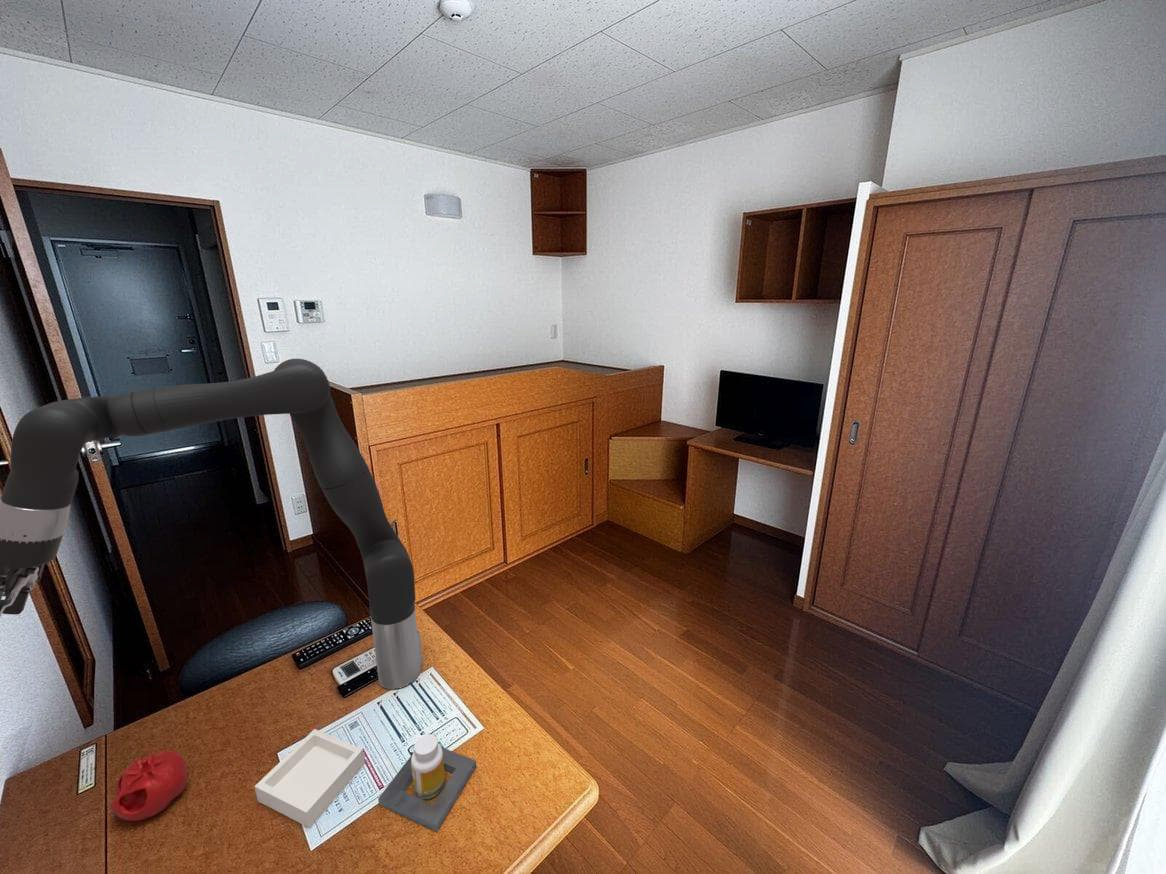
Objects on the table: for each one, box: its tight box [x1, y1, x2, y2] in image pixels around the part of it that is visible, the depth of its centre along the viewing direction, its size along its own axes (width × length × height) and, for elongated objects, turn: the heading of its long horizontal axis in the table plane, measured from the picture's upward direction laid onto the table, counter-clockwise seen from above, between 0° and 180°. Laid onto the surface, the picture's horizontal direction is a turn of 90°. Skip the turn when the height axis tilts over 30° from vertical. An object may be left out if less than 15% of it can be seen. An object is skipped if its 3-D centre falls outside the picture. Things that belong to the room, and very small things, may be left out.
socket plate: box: [377, 746, 477, 832], centre depth 84 cm, size 12×12×2 cm
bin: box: [254, 728, 366, 829], centre depth 84 cm, size 12×12×4 cm
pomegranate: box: [109, 747, 188, 822], centre depth 80 cm, size 10×10×9 cm
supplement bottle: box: [411, 733, 446, 800], centre depth 83 cm, size 5×5×10 cm
